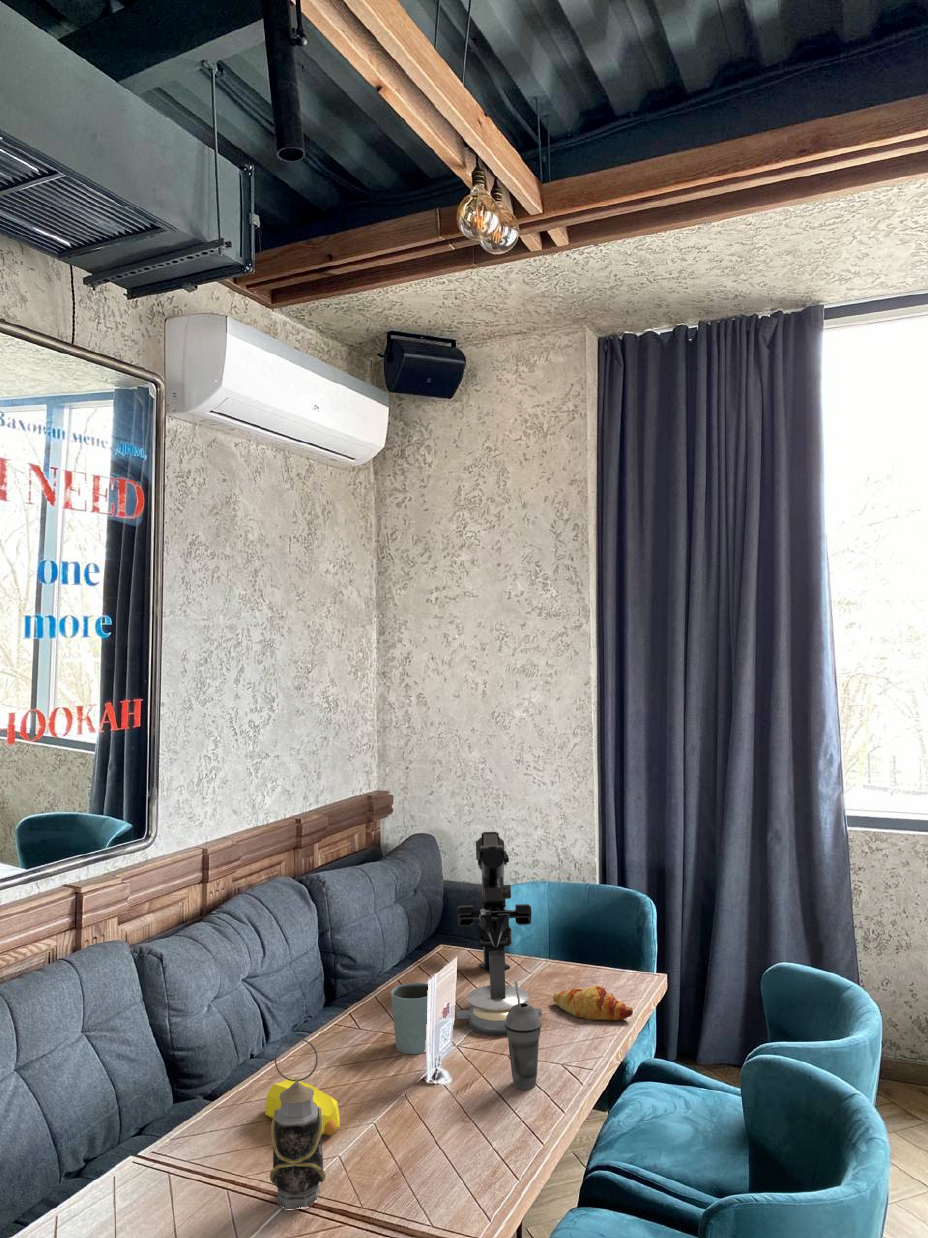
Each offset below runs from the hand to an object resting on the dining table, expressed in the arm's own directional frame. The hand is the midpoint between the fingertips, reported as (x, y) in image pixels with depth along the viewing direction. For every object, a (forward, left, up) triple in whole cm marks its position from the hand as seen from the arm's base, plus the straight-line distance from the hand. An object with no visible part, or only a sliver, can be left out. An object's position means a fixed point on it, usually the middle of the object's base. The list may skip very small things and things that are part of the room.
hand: (495, 946), depth 228 cm
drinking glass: (+14, -29, -13) cm, 35 cm away
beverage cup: (+42, -18, -13) cm, 47 cm away
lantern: (+57, -69, -13) cm, 90 cm away
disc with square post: (+8, -4, -10) cm, 13 cm away
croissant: (+19, +15, -13) cm, 28 cm away
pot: (+13, -7, -13) cm, 20 cm away
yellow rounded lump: (+34, -61, -13) cm, 71 cm away
